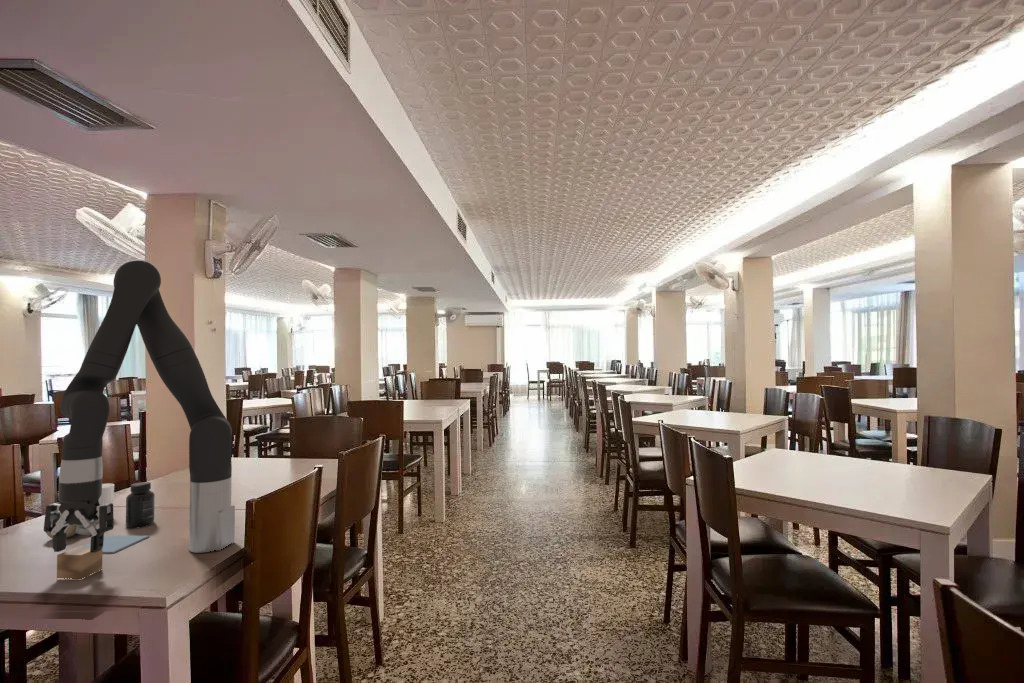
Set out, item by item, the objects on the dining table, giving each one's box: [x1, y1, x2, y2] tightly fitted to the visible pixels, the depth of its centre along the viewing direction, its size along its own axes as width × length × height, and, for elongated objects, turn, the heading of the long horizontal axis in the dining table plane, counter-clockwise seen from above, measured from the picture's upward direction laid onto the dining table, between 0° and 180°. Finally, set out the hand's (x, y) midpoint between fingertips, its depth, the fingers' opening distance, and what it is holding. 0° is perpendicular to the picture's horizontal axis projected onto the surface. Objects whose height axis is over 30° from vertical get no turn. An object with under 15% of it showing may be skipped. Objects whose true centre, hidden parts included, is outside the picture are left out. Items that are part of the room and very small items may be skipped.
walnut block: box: [56, 545, 103, 579], centre depth 114 cm, size 6×6×6 cm
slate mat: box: [82, 535, 150, 554], centre depth 133 cm, size 12×12×1 cm
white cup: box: [91, 483, 115, 522], centre depth 157 cm, size 8×8×10 cm
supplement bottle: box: [125, 481, 156, 529], centre depth 150 cm, size 7×7×12 cm
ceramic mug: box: [45, 513, 97, 540], centre depth 141 cm, size 11×8×8 cm
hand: (77, 551), depth 114 cm, fingers open, 8 cm apart
